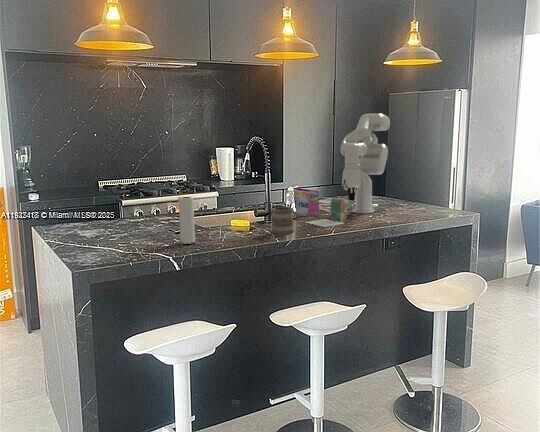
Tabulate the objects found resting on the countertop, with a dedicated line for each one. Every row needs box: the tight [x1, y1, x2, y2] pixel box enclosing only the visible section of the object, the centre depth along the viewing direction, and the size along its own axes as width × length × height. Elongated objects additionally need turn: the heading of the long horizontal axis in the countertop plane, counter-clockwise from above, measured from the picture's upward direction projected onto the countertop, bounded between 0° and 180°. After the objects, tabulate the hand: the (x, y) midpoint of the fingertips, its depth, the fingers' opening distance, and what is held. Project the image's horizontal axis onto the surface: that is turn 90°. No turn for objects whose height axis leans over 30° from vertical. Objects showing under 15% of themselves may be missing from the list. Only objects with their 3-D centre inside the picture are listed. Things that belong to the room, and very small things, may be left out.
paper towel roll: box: [177, 196, 196, 243], centre depth 243 cm, size 7×6×21 cm
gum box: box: [285, 187, 320, 217], centre depth 319 cm, size 24×8×14 cm, turn 35°
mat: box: [304, 218, 346, 228], centre depth 286 cm, size 14×16×1 cm
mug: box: [271, 206, 294, 236], centre depth 266 cm, size 16×11×12 cm
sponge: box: [330, 197, 348, 223], centre depth 290 cm, size 4×8×12 cm, turn 34°
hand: (351, 200), depth 294 cm, fingers closed
